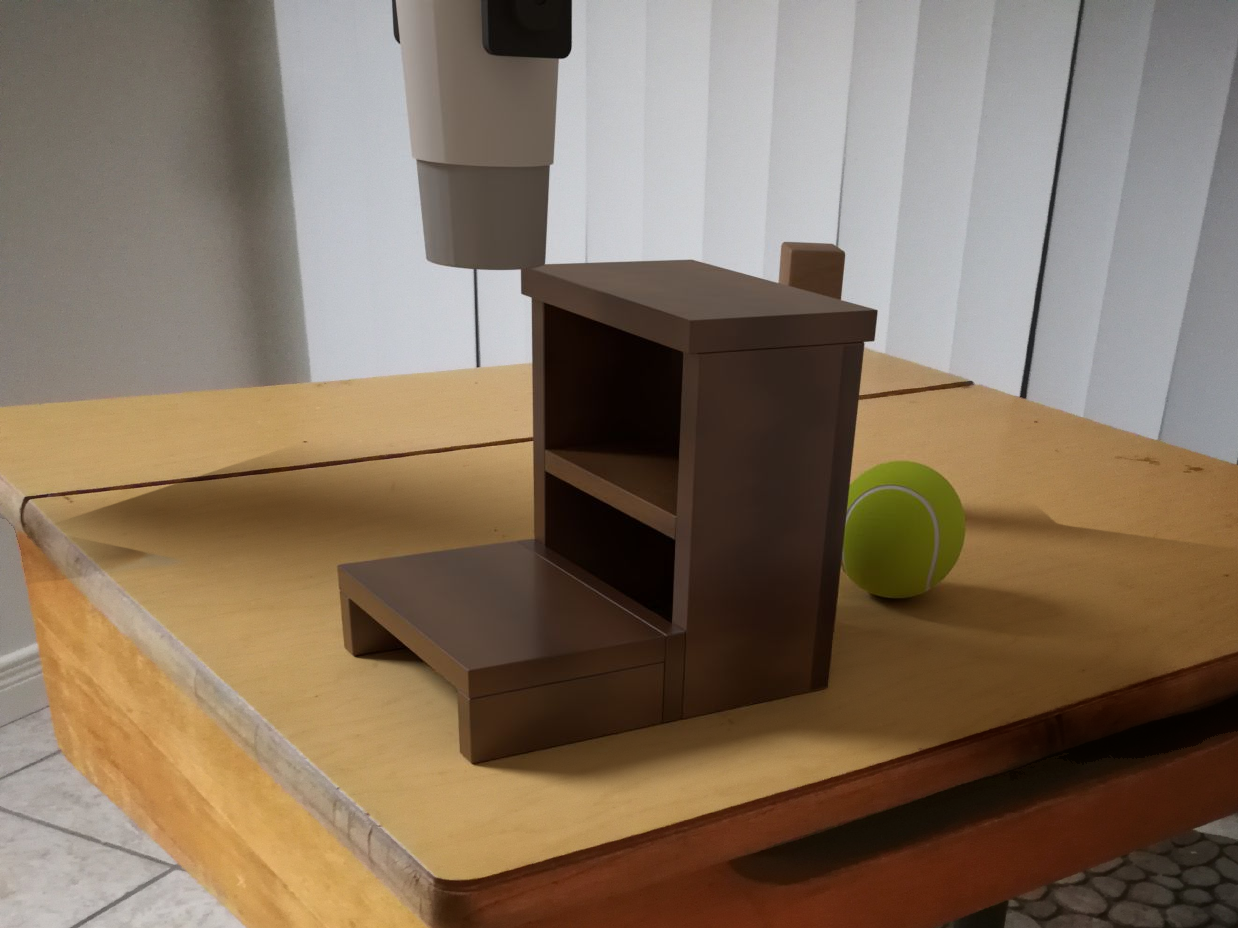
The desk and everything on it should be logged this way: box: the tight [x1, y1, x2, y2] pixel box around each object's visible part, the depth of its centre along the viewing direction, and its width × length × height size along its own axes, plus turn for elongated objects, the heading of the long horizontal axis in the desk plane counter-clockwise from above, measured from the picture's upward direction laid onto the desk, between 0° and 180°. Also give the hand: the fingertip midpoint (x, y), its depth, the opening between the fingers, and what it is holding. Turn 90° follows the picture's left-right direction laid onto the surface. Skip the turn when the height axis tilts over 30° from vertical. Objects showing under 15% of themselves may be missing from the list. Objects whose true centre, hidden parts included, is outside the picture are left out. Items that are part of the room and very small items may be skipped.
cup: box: [396, 0, 560, 271], centre depth 53 cm, size 7×7×12 cm
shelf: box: [336, 259, 879, 764], centre depth 62 cm, size 18×14×16 cm
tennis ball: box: [841, 460, 966, 599], centre depth 76 cm, size 7×7×7 cm
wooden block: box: [778, 241, 846, 300], centre depth 89 cm, size 7×3×15 cm, turn 7°
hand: (479, 47), depth 52 cm, fingers closed on cup, 6 cm apart
